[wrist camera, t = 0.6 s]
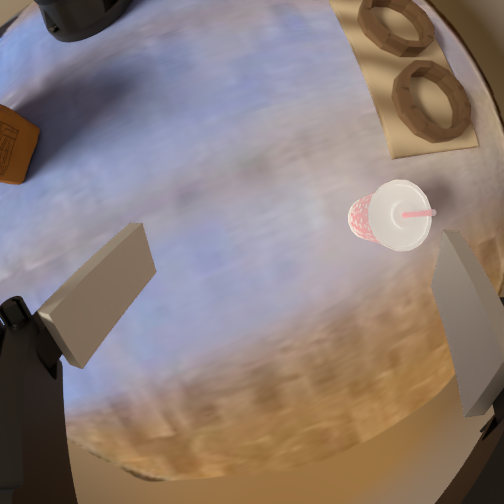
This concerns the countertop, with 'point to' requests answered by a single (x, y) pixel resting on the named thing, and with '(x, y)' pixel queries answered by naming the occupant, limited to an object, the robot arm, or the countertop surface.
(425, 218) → the beverage cup
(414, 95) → the socket board
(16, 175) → the coffee package
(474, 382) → the robot arm
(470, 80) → the countertop surface
